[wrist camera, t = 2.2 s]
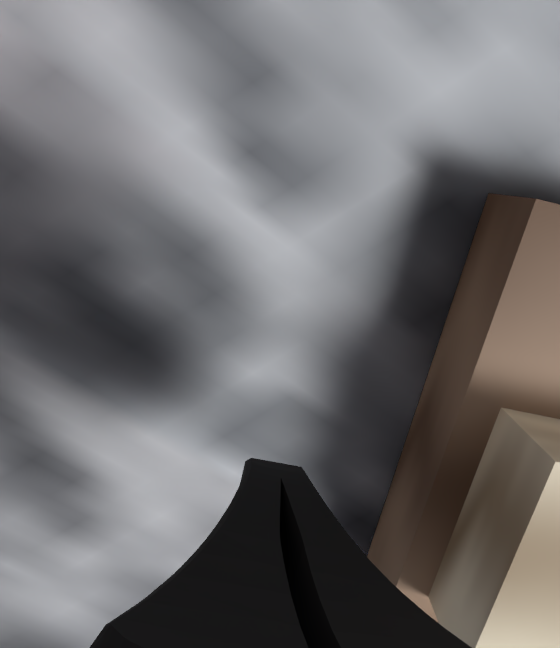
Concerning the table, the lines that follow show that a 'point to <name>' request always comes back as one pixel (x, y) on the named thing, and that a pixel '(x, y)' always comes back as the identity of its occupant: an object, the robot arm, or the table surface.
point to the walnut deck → (475, 384)
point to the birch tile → (507, 542)
